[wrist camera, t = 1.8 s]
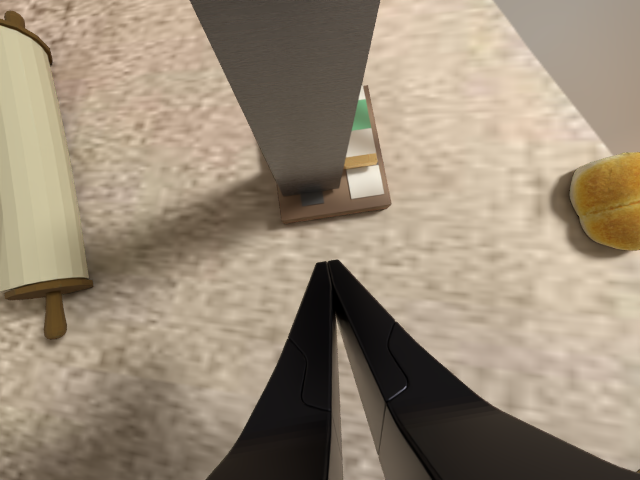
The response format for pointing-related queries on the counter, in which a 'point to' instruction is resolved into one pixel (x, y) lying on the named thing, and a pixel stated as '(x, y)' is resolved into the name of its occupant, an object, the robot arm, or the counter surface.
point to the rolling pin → (36, 181)
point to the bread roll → (609, 200)
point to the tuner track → (347, 177)
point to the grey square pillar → (296, 80)
